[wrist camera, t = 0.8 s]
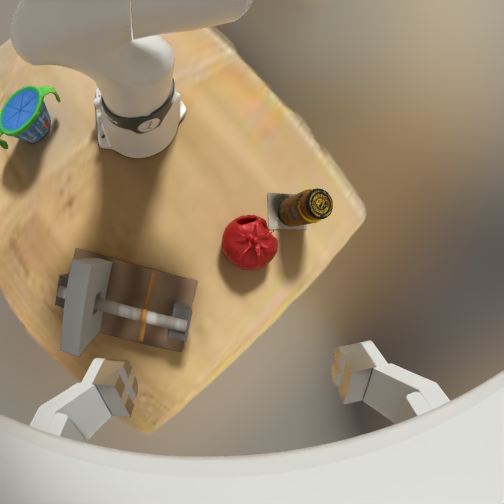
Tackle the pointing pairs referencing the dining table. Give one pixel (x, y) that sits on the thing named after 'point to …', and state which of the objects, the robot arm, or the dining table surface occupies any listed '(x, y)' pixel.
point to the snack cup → (26, 114)
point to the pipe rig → (141, 303)
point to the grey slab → (83, 303)
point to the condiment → (298, 209)
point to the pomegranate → (249, 242)
